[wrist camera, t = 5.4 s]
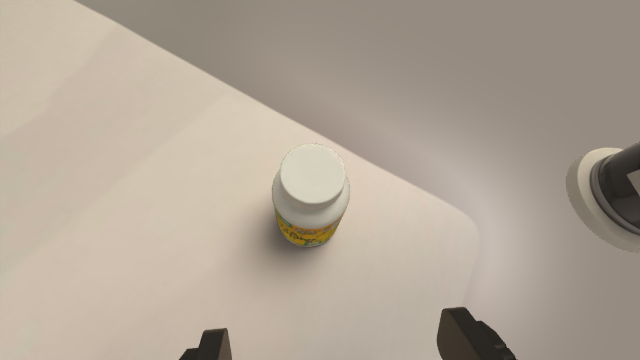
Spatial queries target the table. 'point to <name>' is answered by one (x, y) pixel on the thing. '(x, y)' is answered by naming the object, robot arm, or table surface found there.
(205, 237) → the table surface
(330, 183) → the supplement bottle
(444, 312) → the robot arm
